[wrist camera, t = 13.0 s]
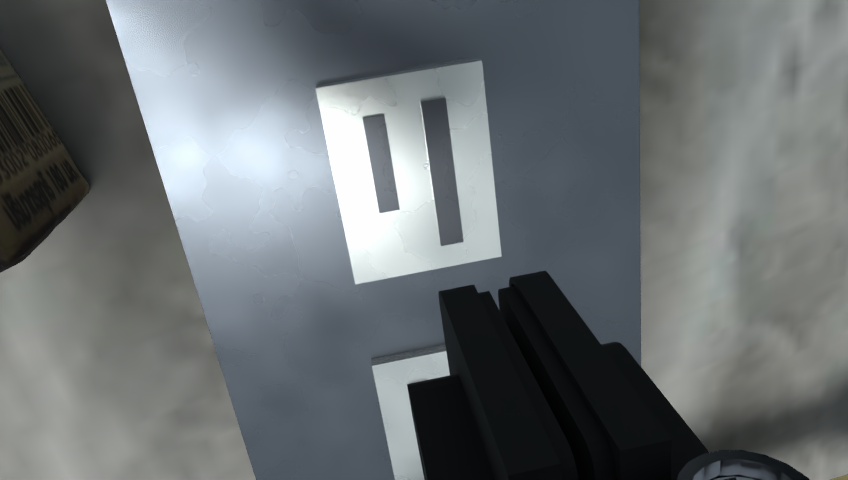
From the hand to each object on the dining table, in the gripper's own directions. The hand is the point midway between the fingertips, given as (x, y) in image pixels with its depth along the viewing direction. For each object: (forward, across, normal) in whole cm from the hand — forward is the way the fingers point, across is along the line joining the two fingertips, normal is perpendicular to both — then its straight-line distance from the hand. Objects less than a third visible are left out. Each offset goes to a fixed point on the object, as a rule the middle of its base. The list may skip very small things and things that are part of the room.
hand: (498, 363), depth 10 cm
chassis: (+11, 0, +6) cm, 12 cm away
